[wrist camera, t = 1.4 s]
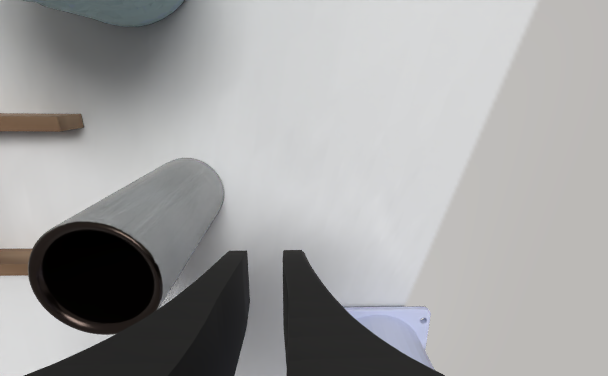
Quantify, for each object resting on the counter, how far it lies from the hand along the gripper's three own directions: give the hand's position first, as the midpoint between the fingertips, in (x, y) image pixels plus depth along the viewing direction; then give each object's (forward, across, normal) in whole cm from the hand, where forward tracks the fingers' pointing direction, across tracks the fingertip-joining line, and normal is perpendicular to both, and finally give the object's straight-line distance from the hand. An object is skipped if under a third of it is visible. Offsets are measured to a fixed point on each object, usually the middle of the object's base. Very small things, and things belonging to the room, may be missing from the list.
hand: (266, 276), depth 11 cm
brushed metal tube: (+11, +6, 0) cm, 12 cm away
